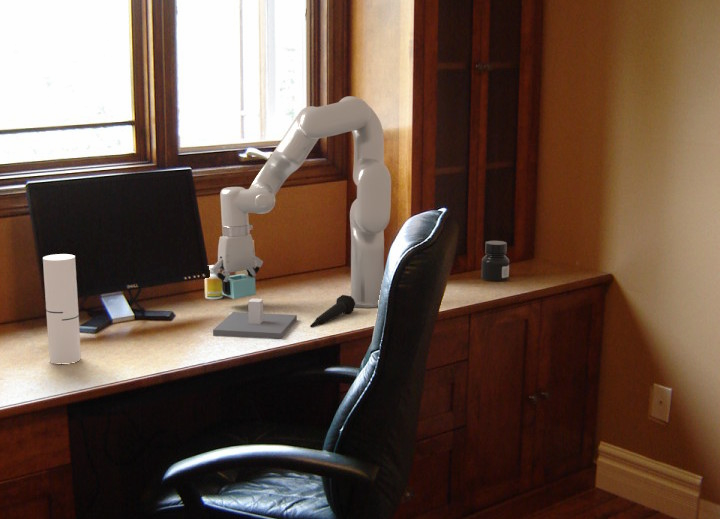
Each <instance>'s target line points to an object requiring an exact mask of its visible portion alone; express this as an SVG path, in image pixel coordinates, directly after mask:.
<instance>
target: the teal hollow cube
mask: <svg viewBox="0 0 720 519" xmlns="http://www.w3.org/2000/svg"><path fill="white" fill-rule="evenodd" d="M228 281H229V282H230V295H226V294H224V293H223V291H222V294H223V296H226V297H228V298H230V299H233V300H236V299H241V298H247V297H252V296H256V295H257V292H256V277H251V276H248V274H245V273H239V274H234V275H230V276H229V279H228Z"/></svg>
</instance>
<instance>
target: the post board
mask: <svg viewBox="0 0 720 519" xmlns="http://www.w3.org/2000/svg"><path fill="white" fill-rule="evenodd" d="M247 306H248V307H247V308H248V310H247V311H248V312H243V311H232V312H231V313H230V314H229V315H228V316H227V317H226V318H224V320H222V321H221V322H220V323H218V325H216V326H215V327H214V328H213V330H212V336H215V337H217V336H219V337H220V336H222V337H237V338H238V337H241V338H253V339H255V338H256V339H274V340H275V339H277V340H281V339H283V337H284V336H285V335H286V334H287V332H288V331H289V330H290V329H291V327H293V326H294V324H296V322H297V320H298V316H297V314H286V313H284V314H283V313H282V314H281V313H267V312H264V299H263V298H250V299H249V300H248V301H247Z"/></svg>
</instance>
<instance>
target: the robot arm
mask: <svg viewBox="0 0 720 519" xmlns="http://www.w3.org/2000/svg"><path fill="white" fill-rule="evenodd" d="M348 132H351V133H352V136H353V137H352V138H353V169H352V170H353V171H352V180H353V182H354V184H355V185H356V199H354V201H353V202H352V203H351V205H350V206H351V207H350V211H349V222H350V224H349V226H350V241H351V242H350V243H351V244H350V291H351V292H350V296H351V297H352V298H353V299H354V301H355V307H356V308H366V309H367V308H369V309H371V308H378V307H377V306H378V300H379V295H380V290H381V284H382V280H383V275H385V274H384V273H385V272H384V269H385V268H384V265H385V264H384V263H385V258H384V257H385V236H384V234H385V233H384V232H385V231H384V230H385V229H386V228H387V227H388V225H389V223H390V220H391V219H390V218H391V210H392V209H391V207H392V205H391V203H392V176H391V173H390V171H389V170H390V169H389V168H388V167H387V166H386V165H385V145H384V144H385V142H384V141H385V140H384V129H383V126H382V123H381V120H380V118H379V116H378V115H377V114H376V112H375V110H374V109H373V108H372V107H371V106H370V105H369V104H368V103H367V102H366V101H365V100H363V99H362V98H359V97H357V96H350V95H349V96H348V95H347V96H345V97H343V98H341V99H340V100H339V101H338V102H335V103H330V104H326V105H321V106H309V105H308V106H306V107H304V108H302V109H301V110H300V111H299V113H298V114H297V116H295V118H294V120H293V122H292V123H291V125H290V126H289V128H288V130H287V131H286V133H285V134H284V135H283V137H282V139H281V140H280V141H279V142H278V145H277V146H276V148H275V149H274V151H273V152H272V153H271V155H270V157H269V158H268V160H267V161H266V162H265V164H264V165H263V166H262V168H261V170H259V172H258V174H256V177H255V178H254V180H253V182H252V183H251V185H250V187H249V188H247V189H246V188H245V187H242V186H230V187H229V186H227V187H224V188H222V189H221V190H220V193H219V195H220V196H219V197H220V212H221V213H220V214H221V232H222V236H221V235H220V236H219V240H218V246H217V248H218V249H217V262H215V263H214V264H213V265H214V266H213V267H212V269H211V271H212V272H213V273H214V274H215V275H216V276H217V277H218V278H219V279H220V280H222V291H223V293H224V294H226V295H230V282H229V281H228V279H229V276H231V274H232V273H234V272H241V271H245V272H246V273H247V275H248V276H251V277H254V278H256V276H257V274H258V273H259V271H260V268H261V267H262V265H263V264H264V260H262V259H260V257H258V256H256V252H255V244H254V241H253V236H252V234H251V231H250V230H253V228H254V227H253V225H252V224H250V223H249V213H250V214H258V215H259V214H267V213H270V211H272V210H273V209H274V207H275V205H276V195H277V193H278V192H279V191H280V189H281V187H282V186H283V184H284V183H285V181H286V180H287V179H288V178H289V177H290V175H292V174H293V173H294V172H296V171H297V170H298V169H299V168H300V167H301V166H302V165H303V163H304V162H305V161H306V159H307V157H308V155H309V154H310V152H311V151H312V150H313V148H314V147H315V145H316V144H317V142H318V141H319V139H324V138H329V137H333V136H337V135H340V134H345V133H348ZM219 269H220V271H219ZM221 271H222V272H221ZM355 307H354V308H355Z"/></svg>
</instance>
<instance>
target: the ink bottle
mask: <svg viewBox="0 0 720 519" xmlns="http://www.w3.org/2000/svg"><path fill="white" fill-rule="evenodd" d="M484 245H485V247H484V250H485V251H484V252H485V253H484V254H485V255H484V256H483V257H482V258H481V272H480V273H481V275H480V276H481V279H482V280H483V281H488V282H504V281H508V280H509V277H510V276H509V275H510V259H509V258H508V257H507V256H506V254H507V248H508V244H507V242H506V241H503V240H502V241H501V240H489V241H485V244H484Z"/></svg>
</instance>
